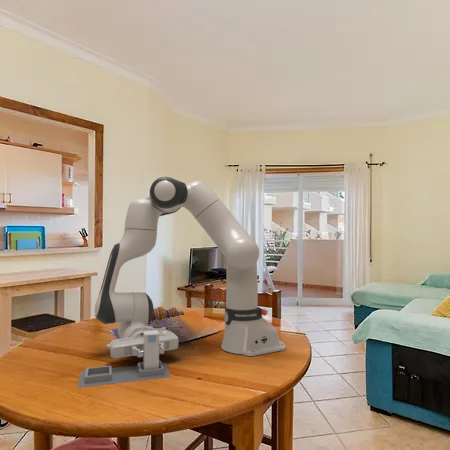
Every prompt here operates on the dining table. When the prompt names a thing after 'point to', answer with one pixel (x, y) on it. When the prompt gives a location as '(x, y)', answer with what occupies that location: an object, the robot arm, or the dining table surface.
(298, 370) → the dining table surface
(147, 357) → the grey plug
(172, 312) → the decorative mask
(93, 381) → the grey flat plate
